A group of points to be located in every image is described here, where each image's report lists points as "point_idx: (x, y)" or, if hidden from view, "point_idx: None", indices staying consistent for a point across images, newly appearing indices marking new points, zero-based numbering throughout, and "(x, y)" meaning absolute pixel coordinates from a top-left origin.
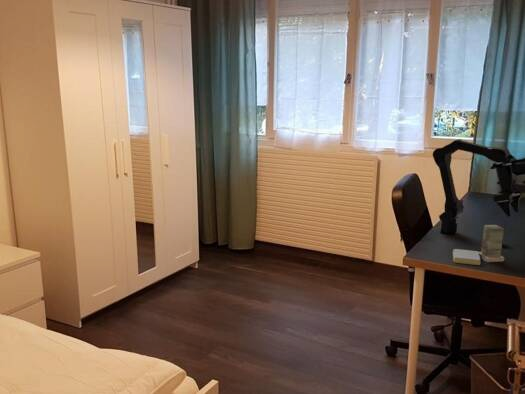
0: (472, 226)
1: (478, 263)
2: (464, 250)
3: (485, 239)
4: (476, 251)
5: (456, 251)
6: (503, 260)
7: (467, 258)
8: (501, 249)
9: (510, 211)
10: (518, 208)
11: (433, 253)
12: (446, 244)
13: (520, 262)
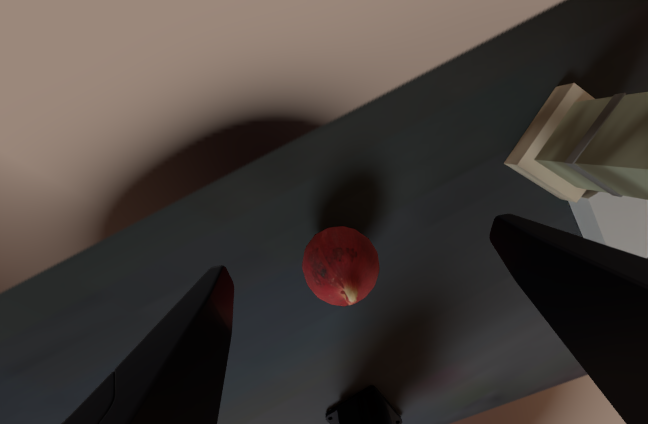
0: None
1: None
2: (612, 239)
3: None
4: (594, 202)
5: (644, 250)
6: (560, 87)
7: None
8: (621, 93)
9: (570, 243)
10: (190, 298)
11: None
12: (507, 336)
13: (523, 21)
